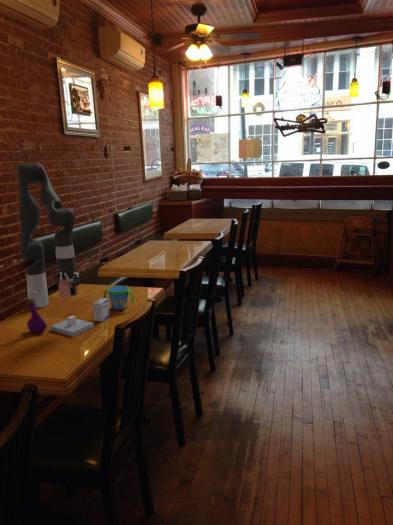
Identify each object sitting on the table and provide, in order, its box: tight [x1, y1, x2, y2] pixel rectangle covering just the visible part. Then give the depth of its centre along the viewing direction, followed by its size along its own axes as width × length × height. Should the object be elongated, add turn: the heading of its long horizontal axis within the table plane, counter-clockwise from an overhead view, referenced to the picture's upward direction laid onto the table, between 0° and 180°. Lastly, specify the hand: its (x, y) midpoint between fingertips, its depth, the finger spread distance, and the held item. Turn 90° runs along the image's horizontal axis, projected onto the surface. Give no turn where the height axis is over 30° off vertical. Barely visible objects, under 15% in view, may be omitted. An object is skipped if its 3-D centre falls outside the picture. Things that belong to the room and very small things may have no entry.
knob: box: [57, 279, 79, 299], centre depth 184 cm, size 5×6×7 cm
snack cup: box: [103, 285, 135, 311], centre depth 213 cm, size 16×10×10 cm
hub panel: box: [50, 315, 95, 338], centre depth 188 cm, size 14×12×6 cm
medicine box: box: [92, 297, 111, 322], centre depth 199 cm, size 8×4×9 cm, turn 168°
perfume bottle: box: [25, 291, 48, 335], centre depth 184 cm, size 8×8×18 cm
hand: (69, 294), depth 185 cm, fingers closed on knob, 5 cm apart
